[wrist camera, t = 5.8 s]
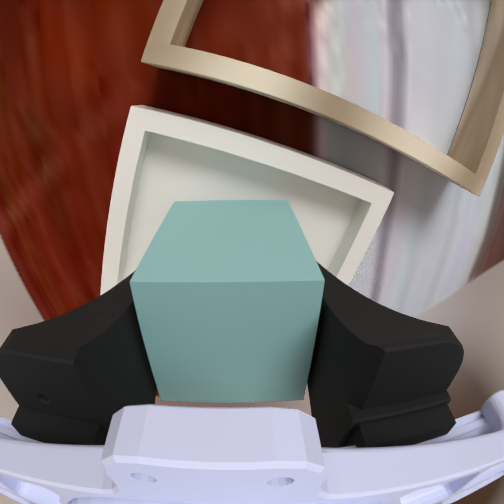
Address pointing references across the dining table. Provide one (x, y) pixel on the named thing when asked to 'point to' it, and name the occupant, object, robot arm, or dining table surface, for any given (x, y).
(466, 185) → the bin
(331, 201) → the tray
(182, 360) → the teal block
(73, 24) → the dining table surface
